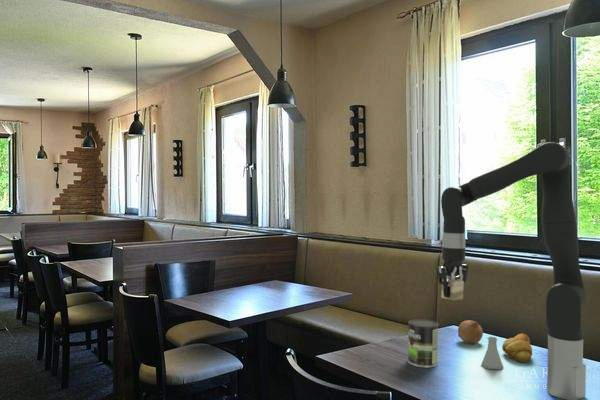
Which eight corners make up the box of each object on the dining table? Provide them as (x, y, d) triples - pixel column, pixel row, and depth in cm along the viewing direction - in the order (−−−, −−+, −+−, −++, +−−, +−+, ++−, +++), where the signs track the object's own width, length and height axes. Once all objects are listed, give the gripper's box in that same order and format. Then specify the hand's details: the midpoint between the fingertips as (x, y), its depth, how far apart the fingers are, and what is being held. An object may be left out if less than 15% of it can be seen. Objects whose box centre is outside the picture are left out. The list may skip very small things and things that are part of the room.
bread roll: (536, 365, 170) (536, 342, 170) (506, 362, 173) (507, 340, 172) (527, 353, 183) (528, 332, 183) (500, 351, 185) (500, 330, 185)
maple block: (463, 298, 165) (463, 281, 165) (453, 300, 162) (454, 282, 162) (450, 296, 169) (451, 278, 169) (441, 297, 166) (441, 280, 166)
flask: (505, 371, 164) (505, 341, 164) (482, 369, 166) (483, 340, 166) (501, 363, 171) (501, 335, 171) (479, 362, 173) (479, 334, 173)
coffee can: (420, 369, 165) (420, 328, 165) (401, 360, 174) (402, 320, 174) (444, 365, 169) (444, 324, 169) (424, 356, 179) (425, 317, 179)
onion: (478, 352, 192) (486, 333, 188) (454, 344, 195) (462, 324, 190) (478, 337, 201) (486, 318, 196) (455, 330, 203) (462, 311, 198)
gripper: (449, 248, 158) (447, 300, 158) (476, 246, 166) (474, 295, 167) (430, 246, 164) (429, 296, 164) (457, 243, 172) (456, 291, 173)
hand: (452, 295), depth 166 cm, fingers closed on maple block, 5 cm apart
